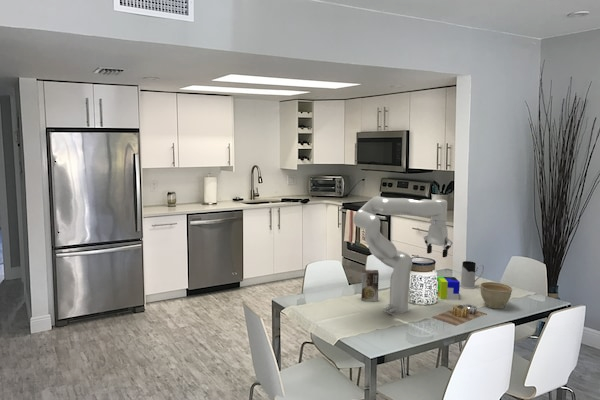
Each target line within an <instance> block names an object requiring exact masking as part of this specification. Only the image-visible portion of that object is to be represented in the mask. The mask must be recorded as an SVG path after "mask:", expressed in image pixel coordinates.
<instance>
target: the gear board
mask: <svg viewBox="0 0 600 400" xmlns="http://www.w3.org/2000/svg"><path fill="white" fill-rule="evenodd" d="M458 305H459V308H463V305H464V304H458ZM452 311H453V309H451V310H447V311H445V312H442V313H439V314H437V315H436V314H435V315H433V316H432V317H431V318H433V319H436V320H438V321H440V322H444V323H448V324H449V325H452V326H455V327H457V326H460V325H462V324H465V323H467V322H469V321H471V320H475V319H477V318H480V317H482V316H486V315H487V313H486V312H483V311H480V310H477V313H476V314H475V313H474V314H471V313H470V314H468V316H467V317H457V316H454V315H453V314H452Z"/></svg>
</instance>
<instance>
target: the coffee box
mask: <svg viewBox="0 0 600 400" xmlns="http://www.w3.org/2000/svg"><path fill="white" fill-rule="evenodd" d="M379 275H380V273H379V269H361V298H360V299H361V301H362V302H379Z"/></svg>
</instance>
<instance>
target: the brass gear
mask: <svg viewBox="0 0 600 400" xmlns="http://www.w3.org/2000/svg"><path fill="white" fill-rule="evenodd" d="M459 305H460V304H453V305H452V310H453V311H452V314H453V315H454V316H457V317H467V316H468V307H467V306H464V305H465V304H462V305H463V308H459Z"/></svg>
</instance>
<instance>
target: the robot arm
mask: <svg viewBox="0 0 600 400" xmlns="http://www.w3.org/2000/svg"><path fill="white" fill-rule="evenodd" d="M447 213H448V201H447V200H446V199H441V198H440V199H439V198H437V199H427V198H426V199H425V198H423V199H420V200H417V199H413V198H405V197H385V196H379V195H376V196H373V197H372V198H370V199H369V200H367V202H366V203H365V204H363V206H361V207H360V208H359V209H358V210H357V211H356V212H355V214H354V215H353V218H352V220H353V224H354V226H356V227H357V228H360V229H363V230H364V240H365V244H366V245H367V246H368V249H369V252H370V254H371V255H373V256H374V257H375V258H376V259H377V260H379V261H380V262H381V263H383V264H384V265H385V266H387V267H389V268H392V269H393V270H392V272H391V276H390V280H389V281H390V282H389V283H390V284H389V285H390V286H389V303H388V304H387V305H388V306H385V307H384V308H383V312H384V313H388V314H389V315H390V316H396V315H400V314H404V313H408V311H410V310H411V309H410V308H409V297H410V280H411V279H410V278H411V277H410V276H411V271H412V269H413V268H412V267H413V259H412V257H411V256H410V255H409V254H408V253H407V252H404V251H401V250H398V249H397V247H396V245H395V244H394V243H393V242H391V240H389V239H388V238H386V236H384V235H383V234H382V233H381V219H380V218H379V217H378V215H377V214H380V215H384V216H411V217H431V219H430V220H429V222H430V223H431V224H429V227H428V230H427V235H425V236H423V240H424V243H425V246H426V254H432V252H433V251H432V250H433V246H434V245H435V246H441V247H442V258H447V257H448V253H449V252H448V251H449V249H450V248H451V247H452V245H453V241H452V240H450V239H449V233H448V226H447V219H448V218H447V216H448V215H447Z"/></svg>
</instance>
